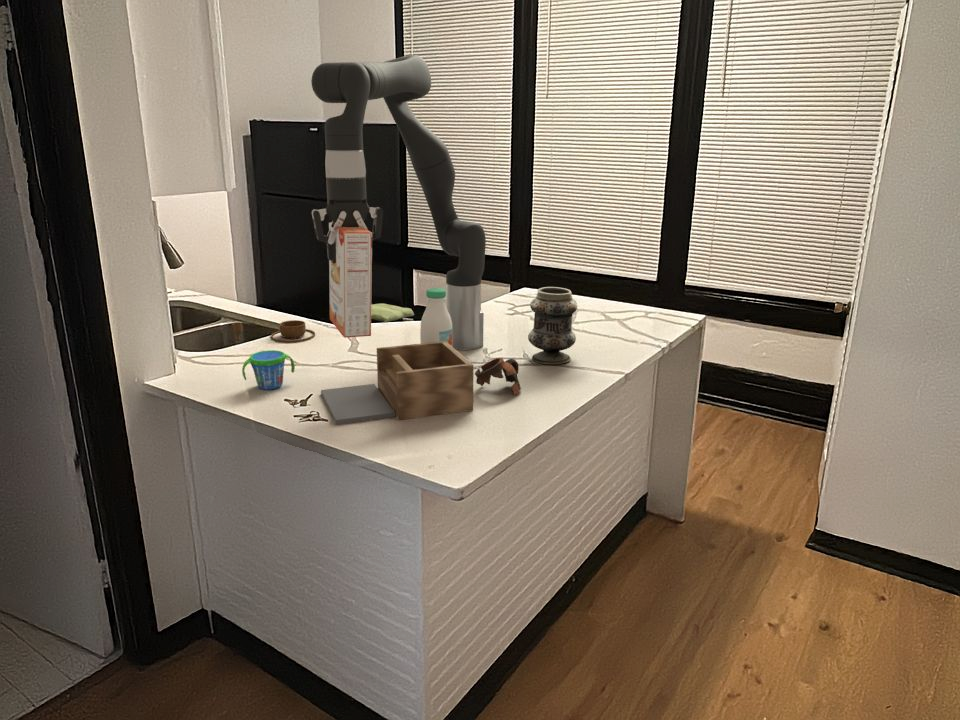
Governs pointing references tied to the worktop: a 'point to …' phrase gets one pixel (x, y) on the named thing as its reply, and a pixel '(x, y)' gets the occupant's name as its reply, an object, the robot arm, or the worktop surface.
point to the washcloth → (389, 312)
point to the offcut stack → (397, 367)
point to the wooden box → (426, 380)
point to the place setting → (283, 331)
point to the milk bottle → (436, 318)
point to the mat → (356, 404)
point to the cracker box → (351, 282)
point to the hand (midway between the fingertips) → (350, 261)
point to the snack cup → (268, 368)
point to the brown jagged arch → (499, 372)
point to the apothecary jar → (552, 325)
